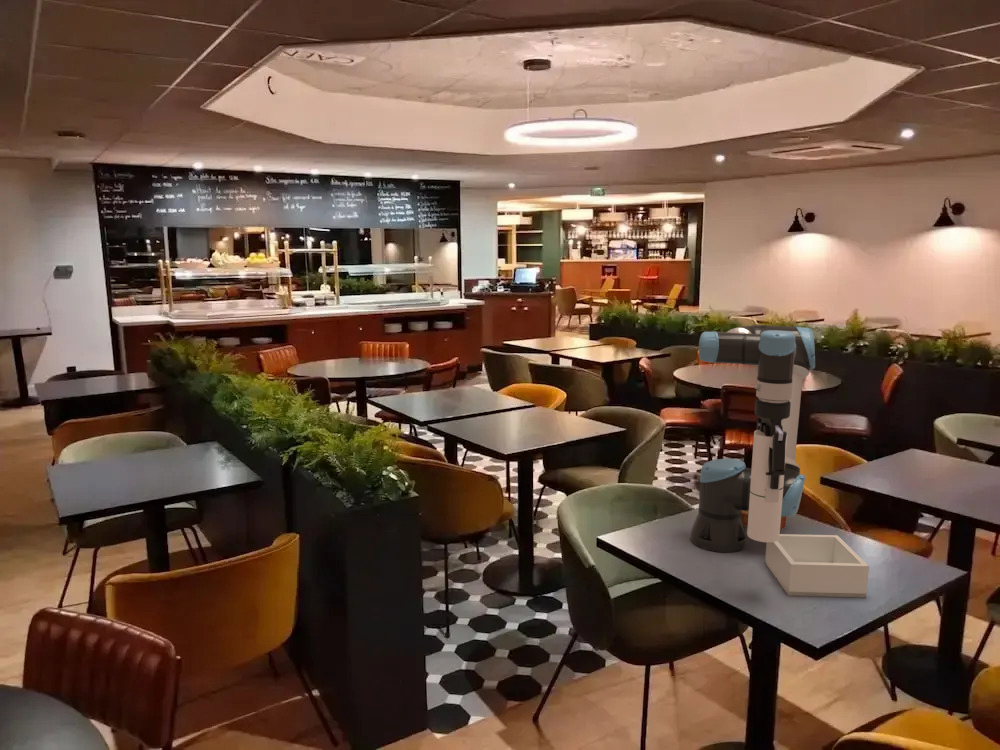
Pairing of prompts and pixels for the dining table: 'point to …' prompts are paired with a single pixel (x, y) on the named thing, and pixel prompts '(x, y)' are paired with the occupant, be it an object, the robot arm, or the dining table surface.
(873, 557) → the dining table surface
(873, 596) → the dining table surface
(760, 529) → the cylindrical container
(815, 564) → the beige bin
